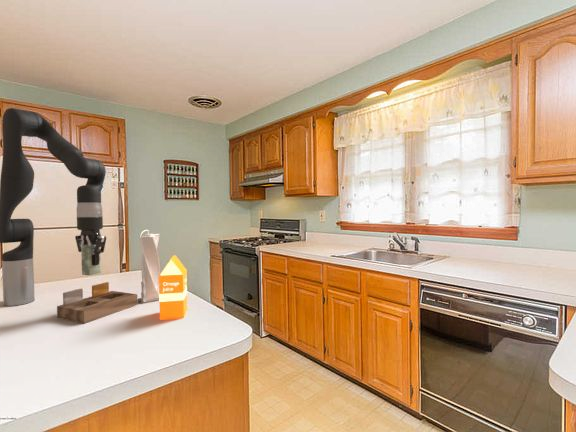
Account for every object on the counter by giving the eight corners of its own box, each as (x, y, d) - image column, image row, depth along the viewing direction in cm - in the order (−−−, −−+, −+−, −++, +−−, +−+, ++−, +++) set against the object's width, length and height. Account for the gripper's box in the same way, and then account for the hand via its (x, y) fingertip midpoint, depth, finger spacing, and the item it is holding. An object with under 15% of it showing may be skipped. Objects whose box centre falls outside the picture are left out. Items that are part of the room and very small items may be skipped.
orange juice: (159, 320, 98) (157, 259, 98) (164, 311, 107) (163, 255, 106) (184, 318, 100) (183, 258, 99) (187, 309, 108) (186, 254, 108)
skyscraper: (137, 298, 122) (135, 230, 121) (158, 295, 127) (156, 229, 126) (141, 303, 115) (140, 231, 115) (163, 299, 120) (162, 230, 119)
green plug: (82, 274, 104) (81, 245, 104) (93, 272, 108) (92, 244, 107) (89, 275, 102) (88, 246, 102) (100, 273, 106) (99, 245, 106)
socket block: (57, 317, 101) (56, 294, 101) (112, 300, 120) (111, 280, 120) (84, 323, 96) (83, 298, 96) (137, 304, 114) (137, 283, 114)
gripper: (65, 216, 104) (67, 265, 104) (91, 216, 98) (93, 268, 99) (88, 215, 111) (89, 261, 111) (113, 215, 105) (115, 264, 105)
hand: (91, 264), depth 105 cm, fingers closed on green plug, 4 cm apart
